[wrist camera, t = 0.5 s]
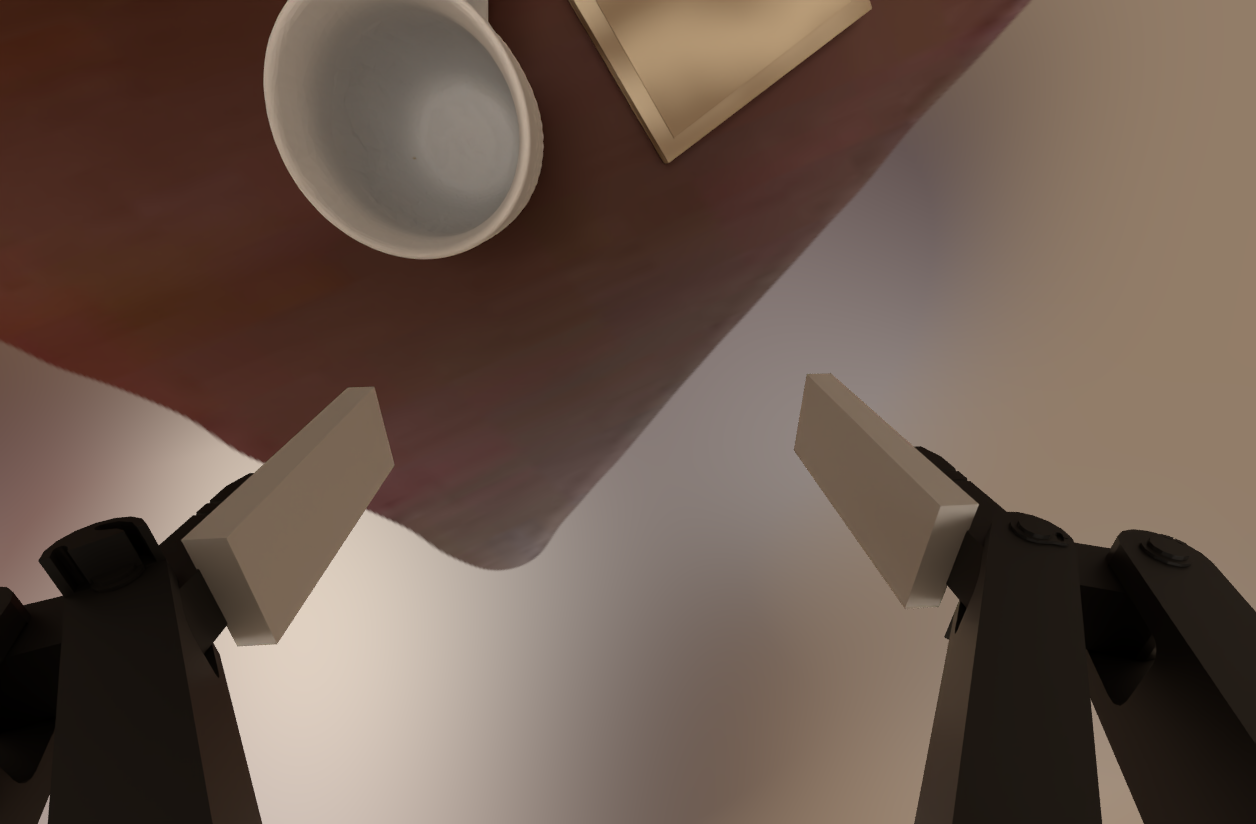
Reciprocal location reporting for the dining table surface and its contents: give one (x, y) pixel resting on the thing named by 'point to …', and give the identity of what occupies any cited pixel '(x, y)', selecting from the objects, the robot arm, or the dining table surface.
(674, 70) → the base
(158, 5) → the dining table surface
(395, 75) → the mug
